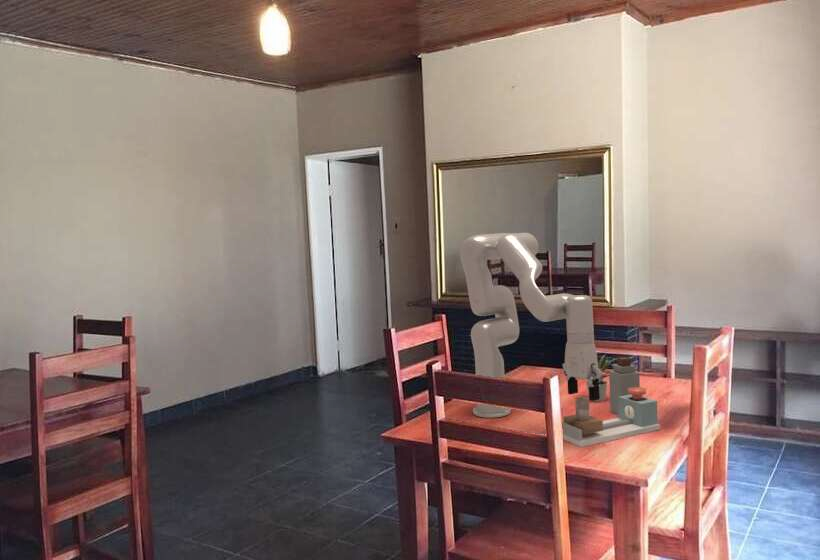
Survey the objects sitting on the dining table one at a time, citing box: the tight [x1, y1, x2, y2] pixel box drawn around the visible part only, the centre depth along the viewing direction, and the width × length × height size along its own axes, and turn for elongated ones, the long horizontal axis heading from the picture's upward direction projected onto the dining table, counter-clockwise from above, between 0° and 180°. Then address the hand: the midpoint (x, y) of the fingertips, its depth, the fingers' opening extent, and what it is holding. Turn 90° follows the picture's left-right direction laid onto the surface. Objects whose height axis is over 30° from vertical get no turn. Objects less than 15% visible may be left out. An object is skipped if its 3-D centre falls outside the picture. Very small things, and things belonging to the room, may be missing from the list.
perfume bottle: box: [608, 356, 641, 416], centre depth 220 cm, size 7×7×18 cm
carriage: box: [563, 396, 604, 435], centre depth 198 cm, size 9×7×9 cm
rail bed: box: [562, 417, 661, 448], centre depth 202 cm, size 12×29×4 cm, turn 114°
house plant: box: [586, 354, 616, 403], centre depth 237 cm, size 14×14×16 cm
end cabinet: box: [618, 394, 659, 427], centre depth 206 cm, size 10×6×7 cm, turn 24°
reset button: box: [628, 386, 647, 400], centre depth 206 cm, size 5×5×3 cm
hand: (583, 396), depth 197 cm, fingers open, 9 cm apart
